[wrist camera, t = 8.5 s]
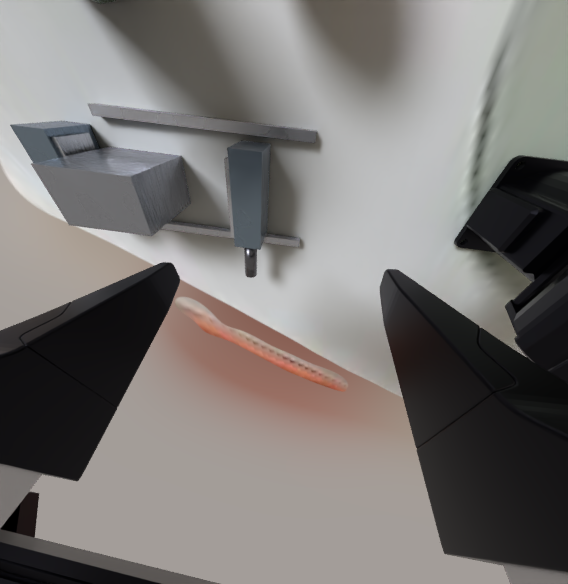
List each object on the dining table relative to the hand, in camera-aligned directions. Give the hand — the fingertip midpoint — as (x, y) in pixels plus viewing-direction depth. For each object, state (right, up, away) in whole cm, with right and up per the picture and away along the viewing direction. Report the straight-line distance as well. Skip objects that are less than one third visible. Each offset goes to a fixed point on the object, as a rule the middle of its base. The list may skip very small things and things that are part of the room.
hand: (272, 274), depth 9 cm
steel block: (-10, +8, +8) cm, 16 cm away
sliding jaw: (-2, +6, +9) cm, 11 cm away
